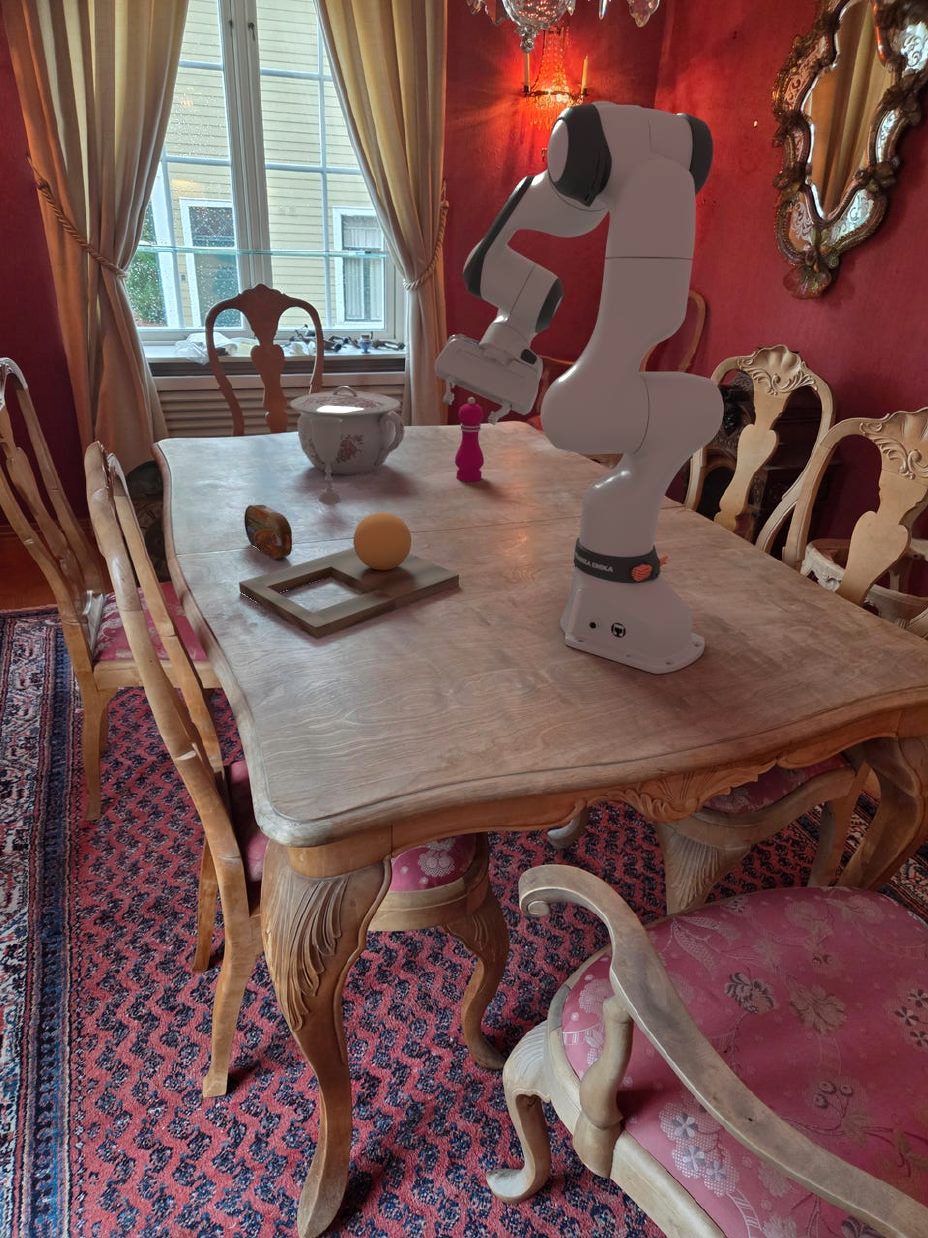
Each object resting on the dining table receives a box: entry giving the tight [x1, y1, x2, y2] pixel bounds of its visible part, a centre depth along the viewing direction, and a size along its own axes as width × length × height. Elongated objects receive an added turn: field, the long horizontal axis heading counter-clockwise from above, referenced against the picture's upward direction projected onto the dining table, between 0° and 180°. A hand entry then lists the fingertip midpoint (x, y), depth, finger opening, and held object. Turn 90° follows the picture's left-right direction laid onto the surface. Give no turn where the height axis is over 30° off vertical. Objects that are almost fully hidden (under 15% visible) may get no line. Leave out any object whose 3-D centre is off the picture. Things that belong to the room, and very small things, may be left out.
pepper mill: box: [454, 396, 485, 482], centre depth 188 cm, size 7×7×20 cm
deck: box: [238, 547, 460, 640], centre depth 131 cm, size 22×30×2 cm
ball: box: [353, 511, 412, 570], centre depth 133 cm, size 10×10×10 cm
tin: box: [243, 504, 293, 560], centre depth 144 cm, size 15×3×8 cm, turn 40°
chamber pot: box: [289, 385, 405, 476], centre depth 193 cm, size 28×28×21 cm
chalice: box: [309, 417, 342, 504], centre depth 170 cm, size 7×7×18 cm
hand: (468, 412), depth 144 cm, fingers open, 8 cm apart
